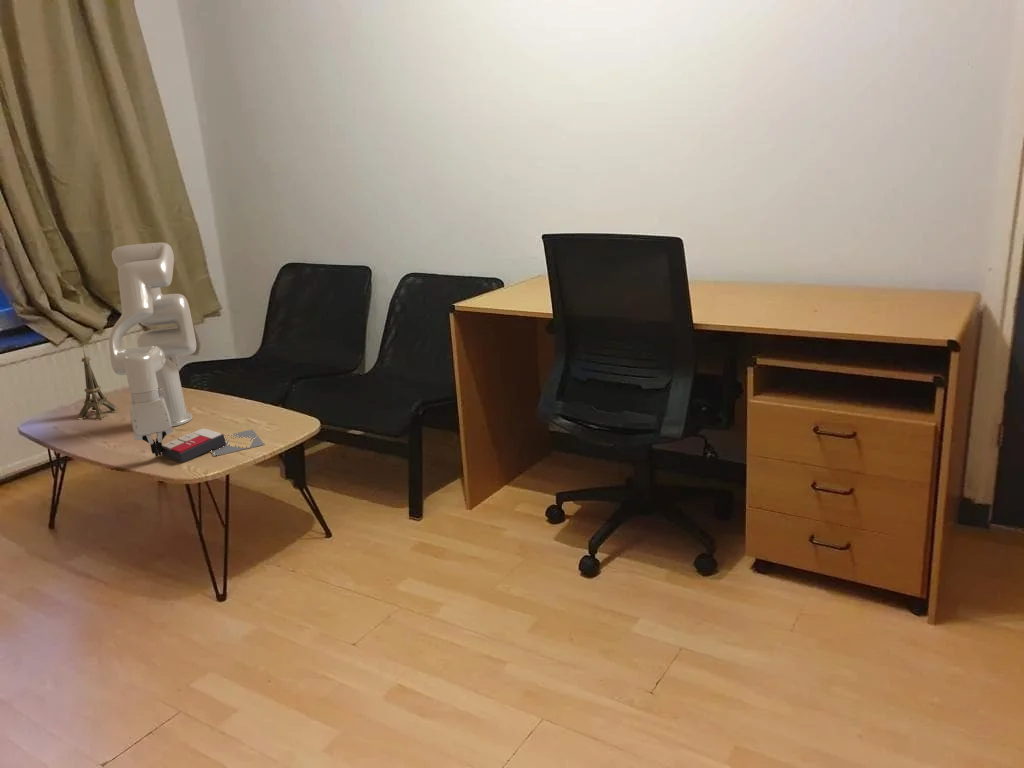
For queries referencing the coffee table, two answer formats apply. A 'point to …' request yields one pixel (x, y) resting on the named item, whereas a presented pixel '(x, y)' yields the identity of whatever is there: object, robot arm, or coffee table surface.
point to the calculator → (193, 445)
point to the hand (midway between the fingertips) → (158, 454)
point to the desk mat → (231, 449)
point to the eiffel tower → (93, 394)
